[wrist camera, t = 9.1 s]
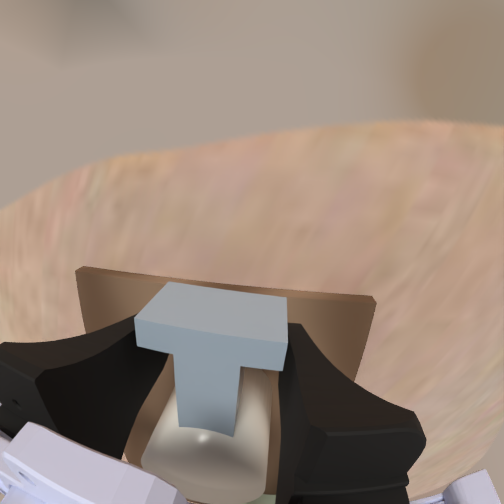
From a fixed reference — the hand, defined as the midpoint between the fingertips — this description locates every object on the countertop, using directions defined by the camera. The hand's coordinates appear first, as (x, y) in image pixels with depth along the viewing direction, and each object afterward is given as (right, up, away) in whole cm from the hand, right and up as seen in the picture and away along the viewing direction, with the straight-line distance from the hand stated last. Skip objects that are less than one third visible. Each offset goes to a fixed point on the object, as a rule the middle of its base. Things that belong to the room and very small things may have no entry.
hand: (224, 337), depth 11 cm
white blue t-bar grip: (0, -2, +2) cm, 3 cm away
